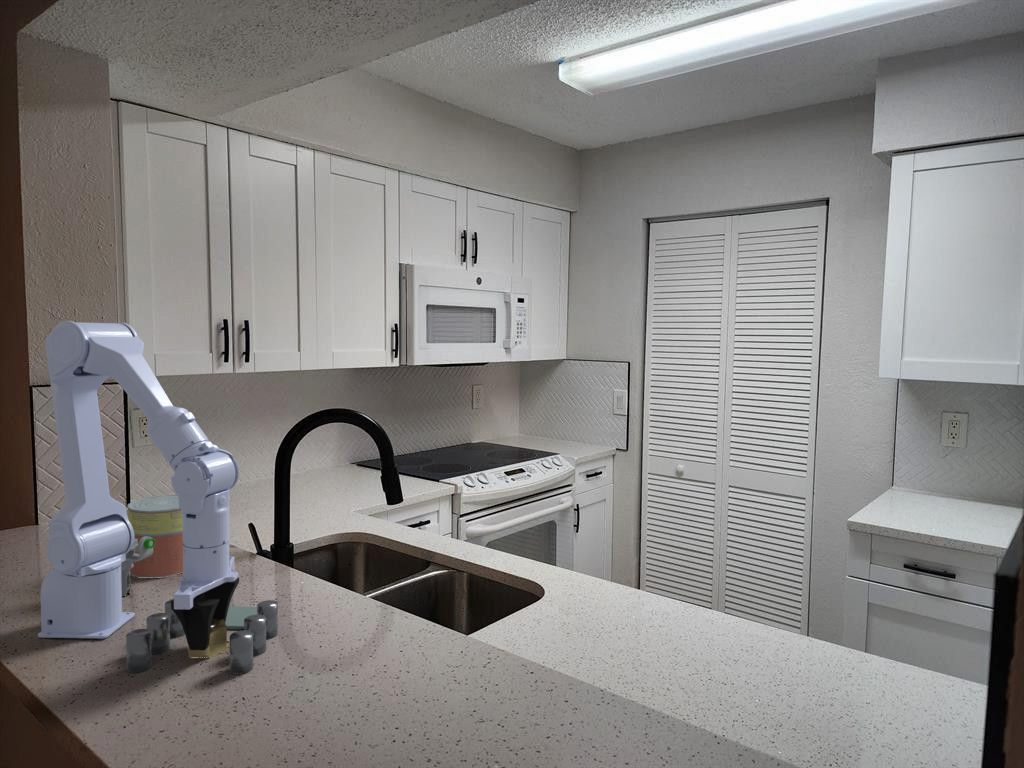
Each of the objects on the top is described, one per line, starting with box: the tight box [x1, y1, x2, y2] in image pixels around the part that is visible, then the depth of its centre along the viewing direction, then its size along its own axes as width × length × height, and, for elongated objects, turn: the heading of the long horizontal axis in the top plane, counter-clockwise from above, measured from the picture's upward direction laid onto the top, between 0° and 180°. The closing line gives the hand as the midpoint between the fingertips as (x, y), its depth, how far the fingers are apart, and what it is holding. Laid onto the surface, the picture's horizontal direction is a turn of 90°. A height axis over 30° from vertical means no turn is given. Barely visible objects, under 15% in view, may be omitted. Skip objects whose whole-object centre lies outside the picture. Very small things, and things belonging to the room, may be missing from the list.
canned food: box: [126, 494, 183, 578], centre depth 122 cm, size 11×11×12 cm
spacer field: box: [125, 599, 279, 675], centre depth 92 cm, size 16×13×4 cm
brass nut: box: [186, 619, 228, 659], centre depth 92 cm, size 5×5×4 cm
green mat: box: [225, 605, 257, 630], centre depth 102 cm, size 9×7×1 cm
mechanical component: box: [121, 535, 155, 597], centre depth 110 cm, size 3×10×10 cm, turn 78°
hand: (206, 640), depth 92 cm, fingers open, 5 cm apart
